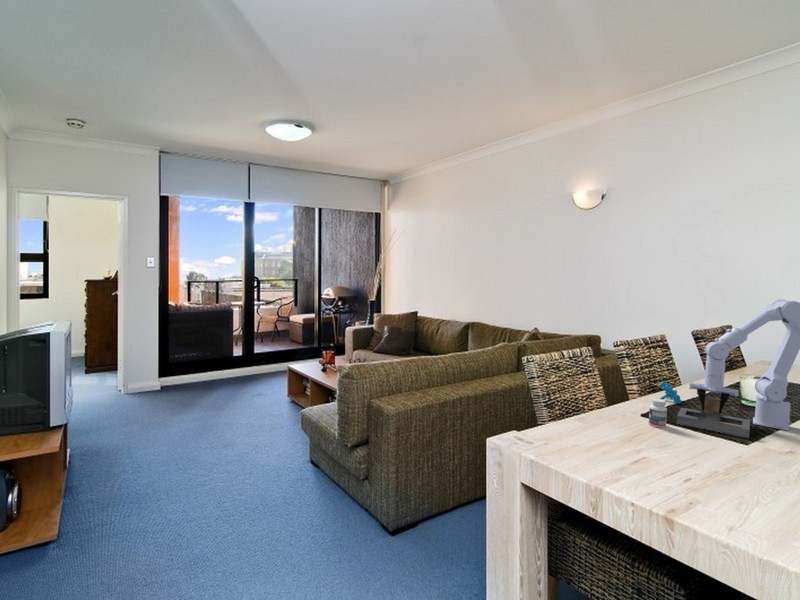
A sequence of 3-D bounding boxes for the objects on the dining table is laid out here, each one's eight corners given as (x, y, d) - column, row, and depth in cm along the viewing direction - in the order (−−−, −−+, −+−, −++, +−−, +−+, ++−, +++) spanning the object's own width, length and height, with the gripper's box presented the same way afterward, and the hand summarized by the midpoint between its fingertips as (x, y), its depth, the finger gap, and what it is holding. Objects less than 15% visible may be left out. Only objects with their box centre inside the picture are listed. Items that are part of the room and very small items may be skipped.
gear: (677, 402, 176) (660, 380, 182) (664, 410, 179) (647, 388, 185) (687, 401, 183) (670, 380, 188) (674, 409, 186) (658, 388, 192)
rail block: (749, 428, 153) (749, 419, 153) (748, 438, 144) (749, 428, 144) (680, 415, 166) (681, 406, 165) (676, 424, 156) (677, 415, 156)
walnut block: (719, 417, 164) (720, 398, 164) (718, 420, 161) (719, 401, 160) (704, 414, 167) (705, 396, 166) (703, 417, 164) (704, 399, 163)
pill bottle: (650, 421, 158) (651, 396, 158) (667, 425, 155) (668, 400, 154) (647, 425, 154) (648, 400, 153) (664, 429, 151) (666, 403, 150)
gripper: (689, 373, 164) (687, 409, 165) (739, 380, 155) (736, 418, 156) (691, 370, 170) (689, 405, 171) (739, 376, 161) (736, 413, 162)
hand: (711, 411), depth 164 cm, fingers closed on walnut block, 4 cm apart
